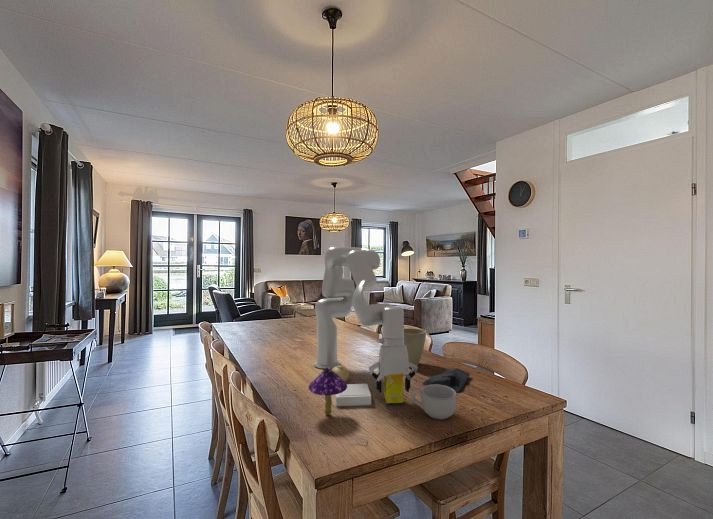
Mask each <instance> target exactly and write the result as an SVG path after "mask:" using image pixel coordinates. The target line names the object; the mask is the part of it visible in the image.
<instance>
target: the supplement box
mask: <svg viewBox="0 0 713 519" xmlns="http://www.w3.org/2000/svg"><path fill="white" fill-rule="evenodd" d="M383 400H384V401H385V404H386V406H402V405H404V376H403V373H400V374H391V375H387V376H386V377H385V376H383Z"/></svg>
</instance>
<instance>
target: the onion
mask: <svg viewBox="0 0 713 519" xmlns="http://www.w3.org/2000/svg"><path fill="white" fill-rule="evenodd" d="M331 369H332V370H333V371H334V372H335V373H336V374H338V375H339V376H340V377H341V379H342V380H344V381H345V382H346V383H347V381H348V380H349V378H350V373H349V370H348V369H347V367H345V366H344V365H342V364H340V366H336V367H334V368H331Z"/></svg>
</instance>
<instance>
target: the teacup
mask: <svg viewBox="0 0 713 519" xmlns="http://www.w3.org/2000/svg"><path fill="white" fill-rule="evenodd" d="M416 394H419V395H420V399H421V402H420V401H418V399H416V397H415V395H416ZM410 396H411V400H412V401H413V402H414V403H415V404H416V405H417V406H419V408H421V409H422V410H423V411H424V412H425V413H426V414H427V416H429V417H430V418H432V419H435V420H446V419H448V418H450V417H451V416H453V415H454V413H455V411H456V407H457V406H456V405H457V404H456V403H457V392H456V391H455V390H454V389H452V388H450V387H448V386H444V385H439V384H431V385H426V386H425V385H424V386H423V387H422V388H421V390H419V389H414V390H412V392H411V395H410Z"/></svg>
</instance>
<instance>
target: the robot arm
mask: <svg viewBox="0 0 713 519" xmlns="http://www.w3.org/2000/svg"><path fill="white" fill-rule="evenodd" d="M324 253H325V254H324V264H325V265H324V267H325V268H324V273H323V278H322V279H323V280H322V285H321V295H322V296H323V297H325V298H321V299H319V300H317V301H316V303H315V305H314V312H315V316H316V360H315V361H314V362H313V366H314V367H316V368H317V369H324V370H325V369H326V368H331V369H333V368H334V367H336V366H340V365H341V361H340V360H338V327H337V324H336V323H335V322H334V320H333V319H336V318H345V317H347V316H349V314H350V313H351V310H352V307H353V309H354V311H355V312H354V313H355V315H356V317H357V319H358V321H359V323H360V324H362V325H363V326H366V327H368V326H370V327H371V326H377V325H378V326H379V325H381V326H382V327H381V328H382V329H381V332H382V337H381V338H377V339H378V343H379V344H381V345H380V348H379V354H378V355H379V356H378V361H377V362H376V363H374V364H372V365H371V366H369V367H368V371H369V372H370V374H371V376H372V377H373V378H374V379H375V380H376V390H377V391H378V393H379V394H382V386H383V385H382V379H383V378H384V376H385V377H386V376H387V375H391V374H400V373H403V377H405V378H404V389H405V391H406V392H407V393H409V392H410V389H411V381H412V379H413V377H414V376H415V375H416V373H417V371H418V369H419V367H418V365H417V366H416V365H414V364H412V363H410V362H408V353H407V347H406V346H405V345H404V328H405V319H404V318H405V317H404V316H405V312H404V309H403V307H401V306H397V305H396V306H395V305H392V304H390V303H373V304H367V302H366V299H365V297H364V296H365V295H364V293H365V292H367V291H368V290H370V289H371V288H374V286H375V285H376V283H377V280H378V279H377V276H376V274H375V272H374V271H375V270H377V269H378V268H380V265H381V258H380V255H379V253H378V252H377V251H376V250H373V249H367V248H365V247H356V246H355V247H354V246H353V247H352V246H331V247H329V248H327V250H326V251H325V252H324ZM343 267H348V269H349V272H350V274H351V277H352V278H353V279H352V278H351V277H348V276H347V277H344V268H343ZM410 368H411V371H410ZM375 369H378V373H377V374H376V372H375Z"/></svg>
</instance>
